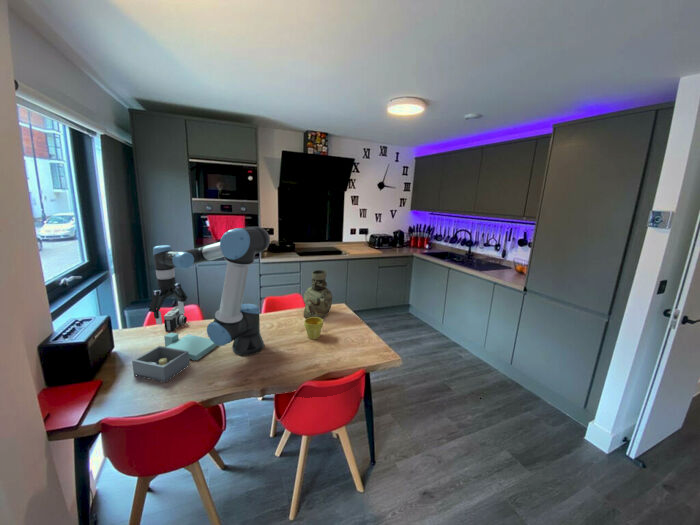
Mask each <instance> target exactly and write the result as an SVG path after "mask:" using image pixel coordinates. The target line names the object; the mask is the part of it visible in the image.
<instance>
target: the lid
mask: <svg viewBox="0 0 700 525" xmlns="http://www.w3.org/2000/svg"><path fill="white" fill-rule="evenodd" d="M218 346H219V345H216V344H215V343H213V342H212V341H211V339H210V338H209V337H204V336H203V337H202V336H199V335H192V334H186V335H185V336H183V337H181V338H179V333H175V332H168V333H167V334H166V335H164V347H168V348H173V349H178V350H183V351H188V353H189V360H190V359H192V361H195V360H197V361H198V360H199V359H201V358H202V357H204V356H206V354H208V353H209V352H211V351H212V350H214V349H215V348H216V347H218ZM203 355H204V356H203Z"/></svg>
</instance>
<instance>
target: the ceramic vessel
mask: <svg viewBox="0 0 700 525" xmlns="http://www.w3.org/2000/svg"><path fill="white" fill-rule="evenodd" d="M327 273H328V272H327V271H326V270H325V269H324V270H323V269H322V270H321V269H316V270H313V271H311V285H312V286H310V287H308V288H307V289H306V290H305V292H304V295H303V302H304V303H305V306H304V310H303V313H302V314H303V318H304V319H305V320H306V319H307V318H310V317H318V318H321V319H322V320H324V319H325V318H326V317H327V316H328V315H329V312H330V311H331V309H332V305H333V293H332V291H331V290H329V288H327V286H328V283H327V281H326V279H327Z"/></svg>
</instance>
